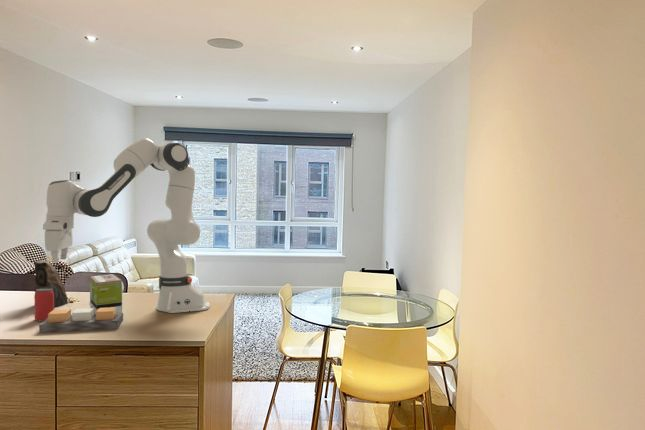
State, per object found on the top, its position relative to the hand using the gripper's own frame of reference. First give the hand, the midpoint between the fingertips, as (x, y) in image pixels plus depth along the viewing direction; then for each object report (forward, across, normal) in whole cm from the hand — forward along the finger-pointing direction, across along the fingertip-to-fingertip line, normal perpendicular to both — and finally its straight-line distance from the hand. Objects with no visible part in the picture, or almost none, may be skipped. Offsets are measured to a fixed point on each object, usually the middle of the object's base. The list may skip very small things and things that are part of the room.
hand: (59, 260), depth 173 cm
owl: (+25, -36, -13) cm, 45 cm away
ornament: (+24, -44, +10) cm, 51 cm away
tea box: (+25, -20, +12) cm, 34 cm away
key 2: (+22, 0, +16) cm, 27 cm away
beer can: (+25, -13, -9) cm, 29 cm away
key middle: (+22, 0, +8) cm, 24 cm away
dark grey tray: (+25, 0, +8) cm, 26 cm away
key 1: (+22, 0, 0) cm, 22 cm away
